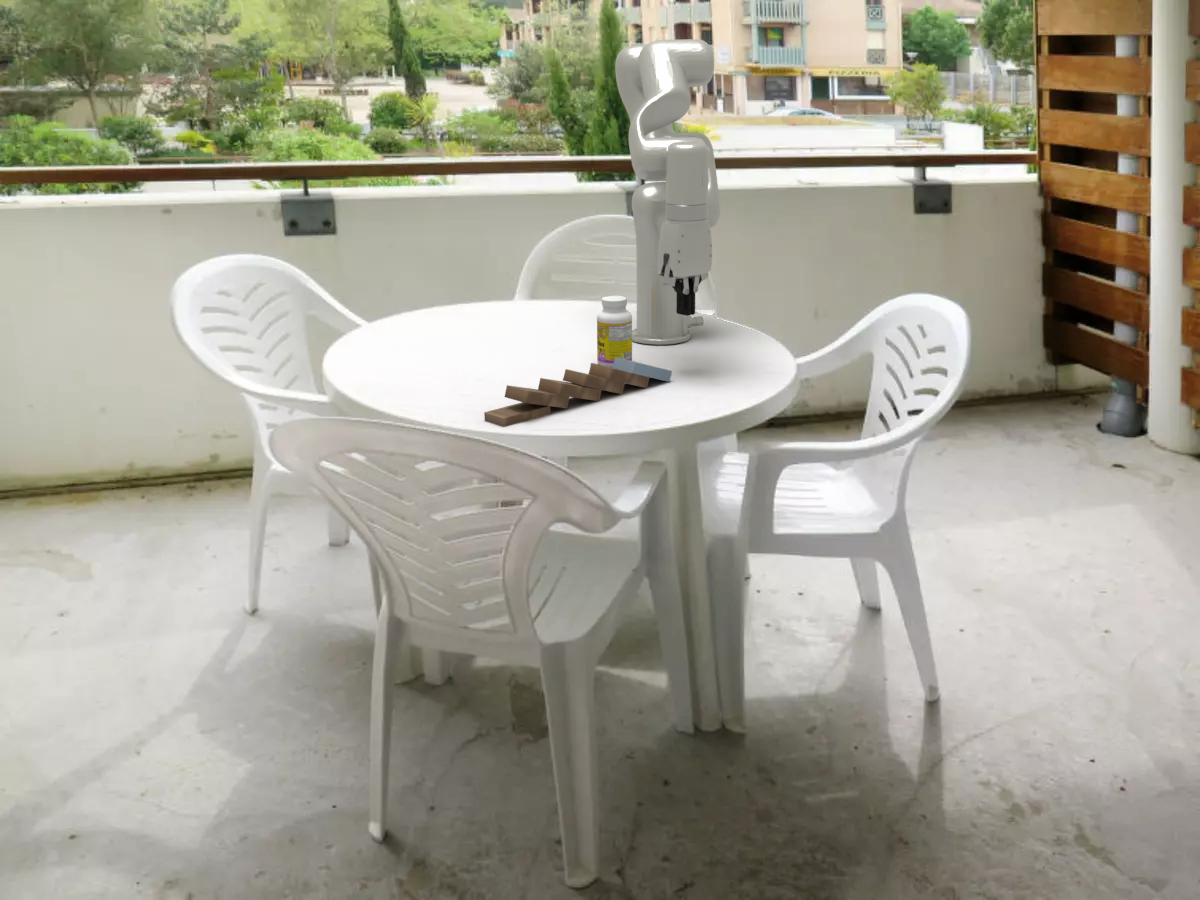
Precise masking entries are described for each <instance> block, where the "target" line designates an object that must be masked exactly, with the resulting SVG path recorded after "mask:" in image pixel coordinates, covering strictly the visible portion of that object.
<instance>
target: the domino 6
mask: <svg viewBox="0 0 1200 900" xmlns="http://www.w3.org/2000/svg"><path fill="white" fill-rule="evenodd" d="M613 368H615V369H618V370H622V371H626V372H630V373H634V374H638V375H642V376H646V377H650V378H652V379H656V380H660V381H665V382H671V377H672V373H673V371H672V370H670V369H665V368H661V367H658V366H654V365H650V364H646V363H642V362H637V361H634V360H632V361H629V360H625V359H621V358H617V357H615V361H614V365H613Z"/></svg>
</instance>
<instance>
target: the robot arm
mask: <svg viewBox="0 0 1200 900" xmlns="http://www.w3.org/2000/svg"><path fill="white" fill-rule="evenodd" d="M614 66H615V69H614V70H615V80H616V85H617V90H618V94H619V96H620V98H621V99H620V100H621V101H622V103H623V106H624V108H625V110H626V112H627V115H628V118H629V122H630V125H629V129H628V130H629V131H628V147H629V153H630V154H629V155H630V159H631V160H630V162H631V166H632V169H633V172H634V174H635V175H636V176H637V177H638V178H639V179H641V180H643V181H647V183H644V184H641V185H640V186H639V187H637V188H636V189H635V190H634V191H633V194H632V196H631V197H632V198H631V209H632V218H633V225H634V230H635V231H634V232H635V246H636V247H635V248H636V249H635V250H636V251H635V252H636V253H635V254H636V328H634V329H632V342H635V343H639V344H642V345H643V344H644V345H657V346H659V345H661V346H662V345H664V346H665V345H674V344H675V345H676V344H681V343H685V342H687V341H689V340H690V339H691V335H692V334H691V331H690V330H688V329H691V327H700V326H703V325H705V319H704V317H703V316H702V315H701V316H693V315H695V314H696V293H697V292H699V286H700V284H701V283H702V282H703V281H704V280H707V279H708V278H709V272H710V271H711V269H712V265H713V263H712V262H713V243H712V241H713V240H712V231H711V228H713V227H715V226H716V225H717V224H718V222H719V220H720V216H721V215H720V214H721V202H720V191H719V184H718V175H717V169H716V161H715V154H714V153H715V152H714V149H713V145H712V142H711V139H709V137H708V136H707V135H706V134H703V133H701V132H678V131H677V132H676V131H675V130H674V124H673V123H675V122H677V121H679V120H680V119H682V118H683V117H684V116H685V115H686V114H687V113H688V112H689V109H690V108H691V107H690V106H691V105H692V104H691V101H692V100H691V99H692V98H691V93H690V90H689V88H696V87H702V86H707V85H708V84H709V83H710V82H711V80H712V79H713V76H714V73H715V72H714V70H715V58H714V53H713V51H712V49H711V47H710V45H709V43H708V42H706V41H705V40H703V39H695V38H693V39H658V40H653V41H650V42H649V43H643V44H634V45H629V46H626V47H624V48H622V49H621V50H620V51H619V52H618V54H617V56H616V59H615V65H614ZM692 316H693V317H692Z"/></svg>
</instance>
